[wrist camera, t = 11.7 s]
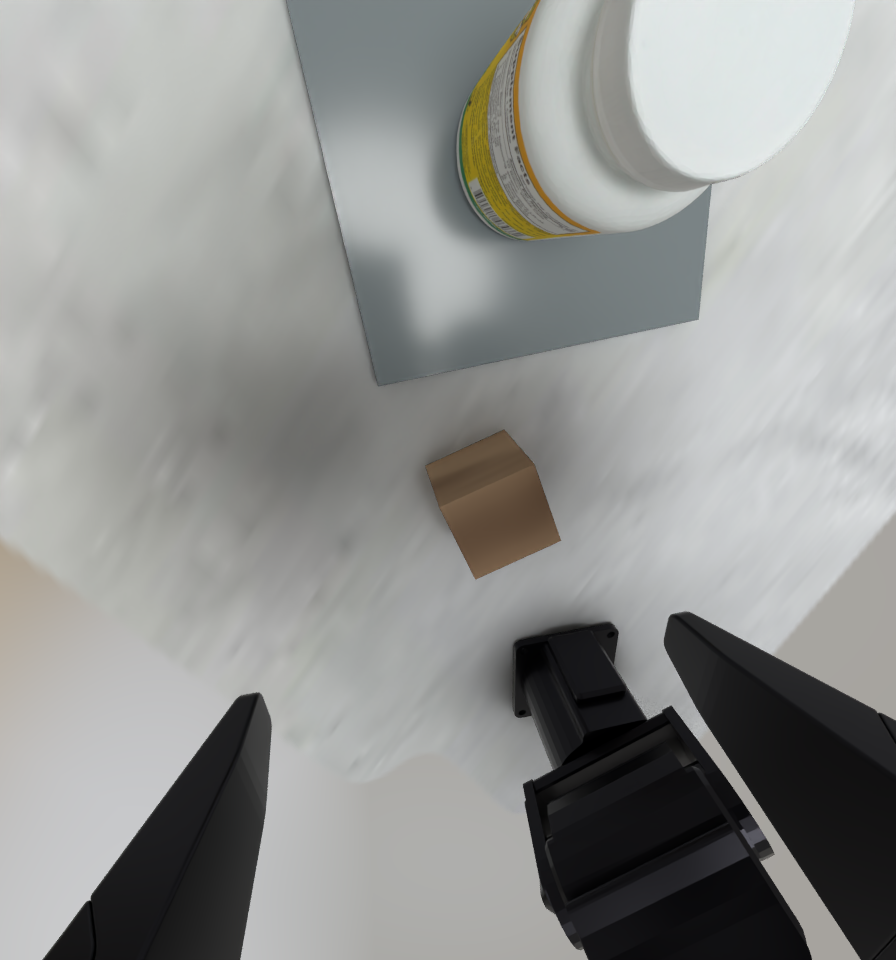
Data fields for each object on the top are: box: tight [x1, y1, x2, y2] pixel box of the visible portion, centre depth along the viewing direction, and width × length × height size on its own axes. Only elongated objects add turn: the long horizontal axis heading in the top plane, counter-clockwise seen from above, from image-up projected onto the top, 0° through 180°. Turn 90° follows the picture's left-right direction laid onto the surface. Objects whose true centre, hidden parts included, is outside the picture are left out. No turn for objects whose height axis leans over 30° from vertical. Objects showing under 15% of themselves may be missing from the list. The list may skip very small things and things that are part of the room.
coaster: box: [286, 0, 712, 386], centre depth 16 cm, size 14×14×1 cm
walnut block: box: [425, 430, 561, 580], centre depth 20 cm, size 4×4×4 cm
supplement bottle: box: [456, 0, 855, 241], centre depth 11 cm, size 5×5×10 cm
